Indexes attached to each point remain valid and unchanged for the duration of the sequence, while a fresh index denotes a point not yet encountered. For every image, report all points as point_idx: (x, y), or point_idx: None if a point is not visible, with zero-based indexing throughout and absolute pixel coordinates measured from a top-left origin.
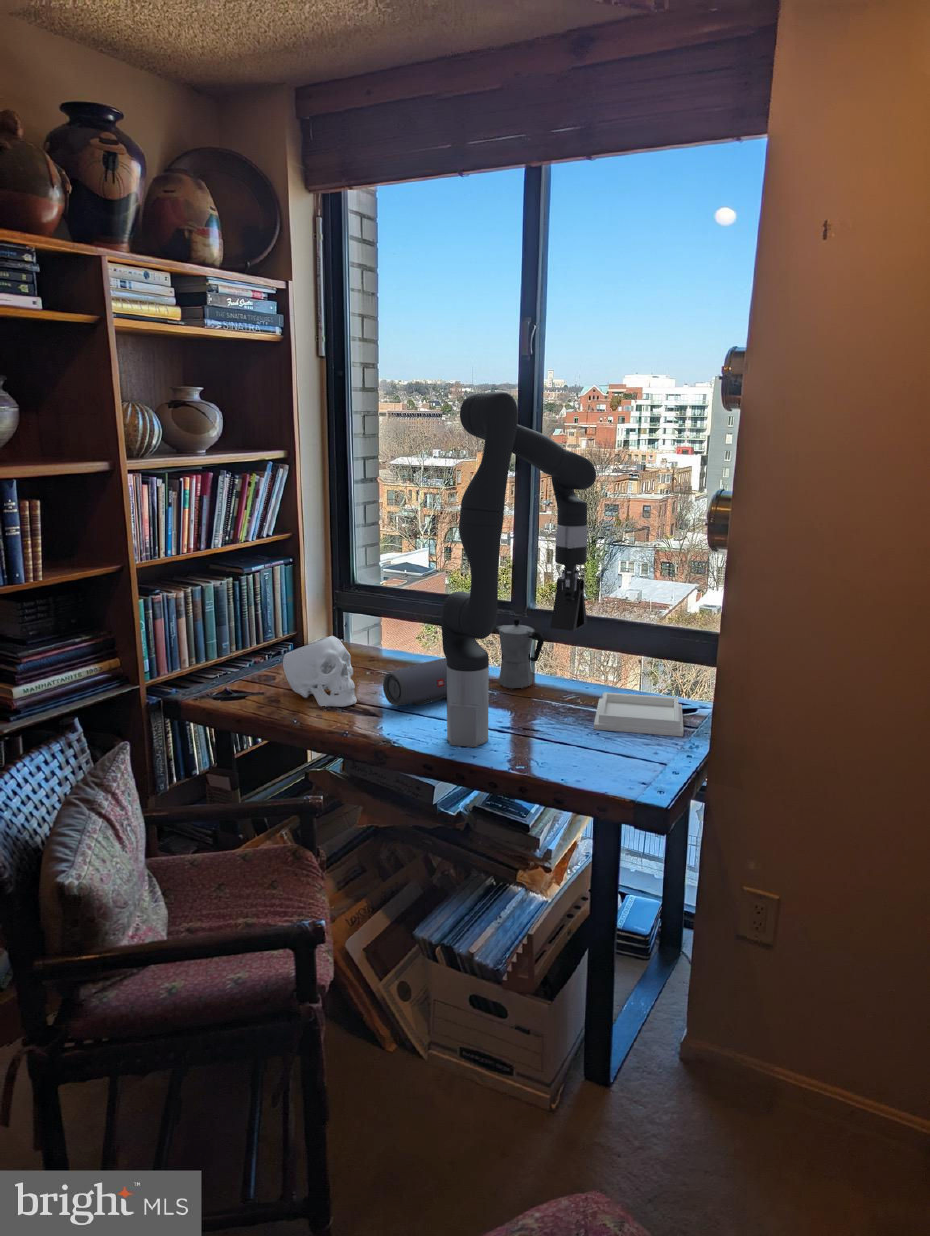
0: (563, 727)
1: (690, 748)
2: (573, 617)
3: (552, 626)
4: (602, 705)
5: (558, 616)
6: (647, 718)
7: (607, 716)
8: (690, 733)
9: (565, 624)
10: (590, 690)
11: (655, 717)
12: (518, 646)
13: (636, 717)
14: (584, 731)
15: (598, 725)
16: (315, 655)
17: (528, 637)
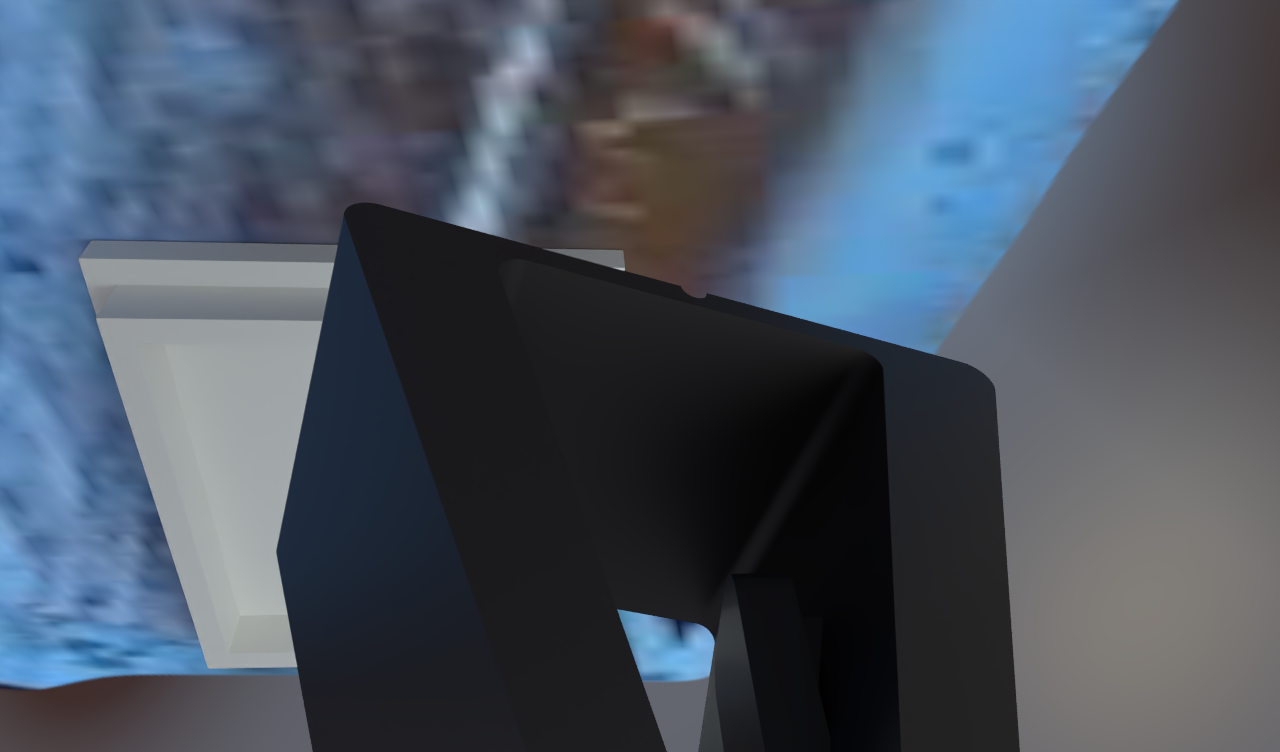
0: (19, 35)
1: (69, 644)
2: (313, 706)
3: (341, 259)
4: (306, 330)
5: (366, 483)
6: (175, 554)
7: (115, 363)
8: None
9: (309, 503)
10: (893, 180)
11: None
12: None
13: (163, 509)
14: (21, 186)
15: (88, 283)
16: None
17: None
